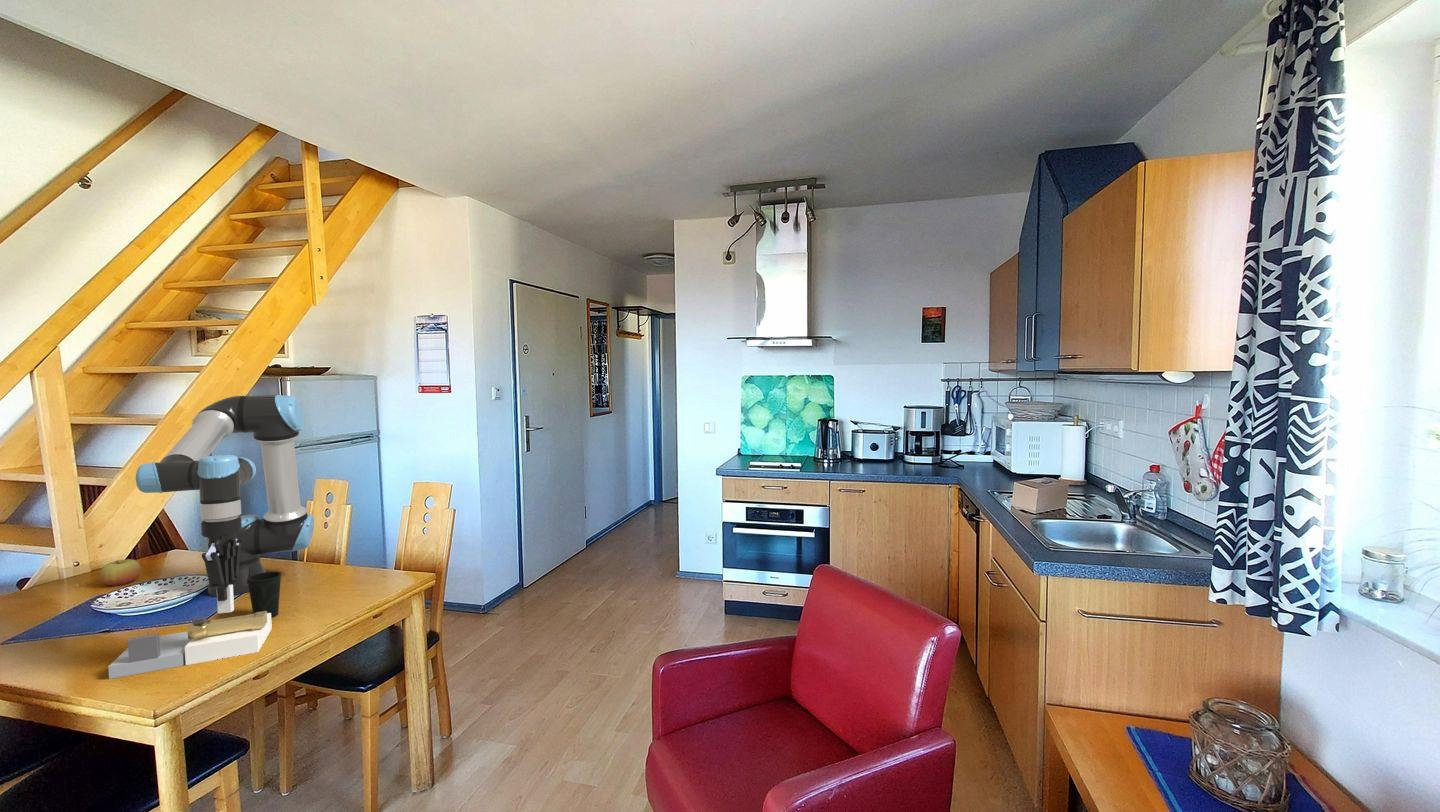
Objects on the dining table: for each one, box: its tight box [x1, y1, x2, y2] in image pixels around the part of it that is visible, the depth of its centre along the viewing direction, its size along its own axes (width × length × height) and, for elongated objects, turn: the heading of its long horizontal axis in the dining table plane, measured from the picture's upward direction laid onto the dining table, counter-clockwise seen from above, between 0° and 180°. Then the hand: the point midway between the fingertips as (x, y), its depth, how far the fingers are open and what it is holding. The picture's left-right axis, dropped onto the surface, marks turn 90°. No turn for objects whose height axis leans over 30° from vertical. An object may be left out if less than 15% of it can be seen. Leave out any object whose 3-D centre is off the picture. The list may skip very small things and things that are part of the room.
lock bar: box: [186, 611, 267, 640], centre depth 146 cm, size 4×15×3 cm, turn 118°
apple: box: [98, 558, 142, 587], centre depth 191 cm, size 10×10×8 cm
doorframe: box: [107, 613, 273, 680], centre depth 145 cm, size 15×28×9 cm, turn 118°
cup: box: [247, 571, 282, 619], centre depth 166 cm, size 8×8×12 cm
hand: (226, 611), depth 142 cm, fingers closed
